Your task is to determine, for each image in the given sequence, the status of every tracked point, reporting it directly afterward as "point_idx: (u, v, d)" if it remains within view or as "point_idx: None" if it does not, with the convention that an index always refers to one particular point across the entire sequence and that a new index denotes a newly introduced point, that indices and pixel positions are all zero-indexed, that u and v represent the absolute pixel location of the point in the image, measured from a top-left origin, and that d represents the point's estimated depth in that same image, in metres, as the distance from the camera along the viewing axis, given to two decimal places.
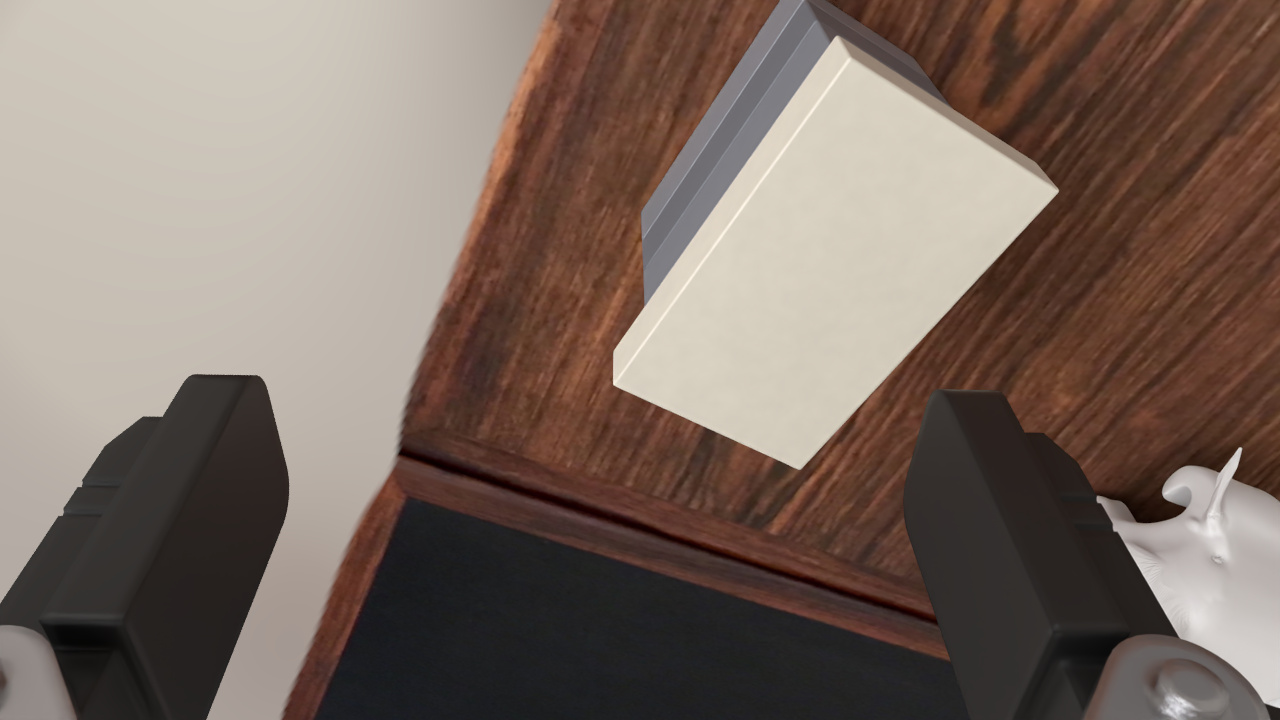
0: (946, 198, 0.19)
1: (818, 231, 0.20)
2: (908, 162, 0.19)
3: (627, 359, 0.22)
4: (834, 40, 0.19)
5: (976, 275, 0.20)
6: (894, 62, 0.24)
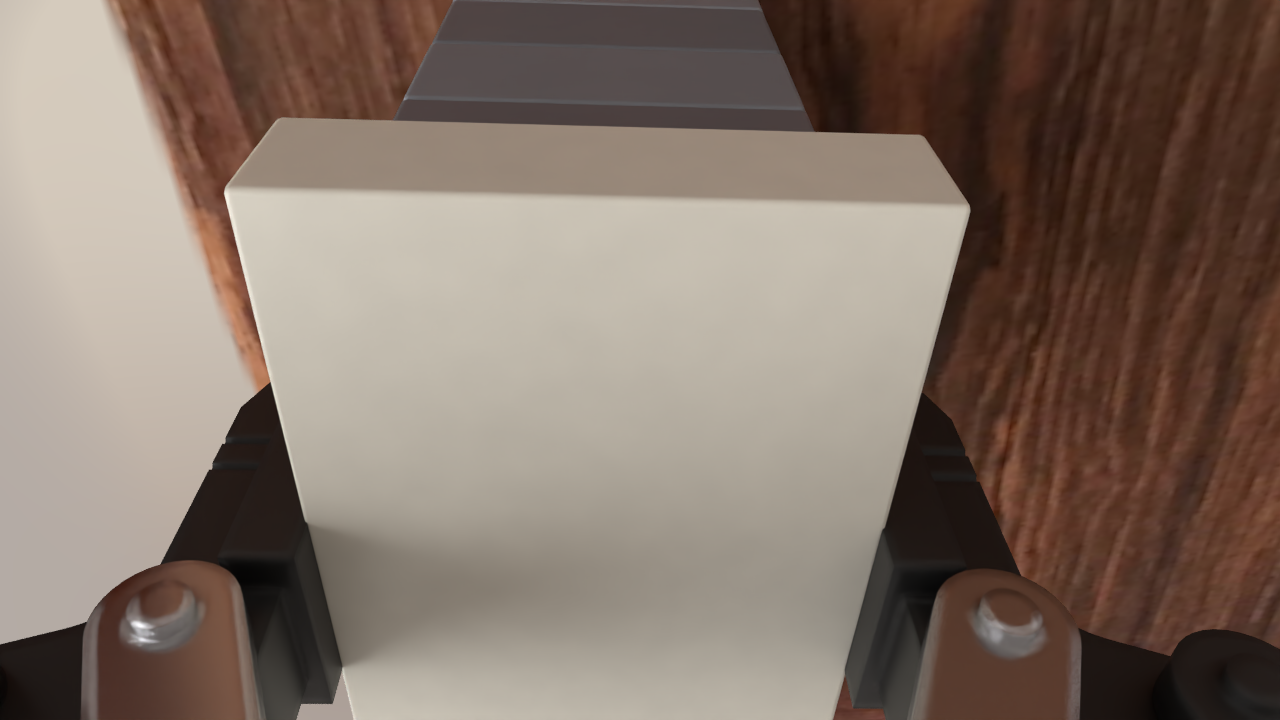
0: (700, 347, 0.08)
1: (488, 514, 0.09)
2: (551, 321, 0.07)
3: None
4: None
5: (895, 449, 0.08)
6: (649, 25, 0.12)
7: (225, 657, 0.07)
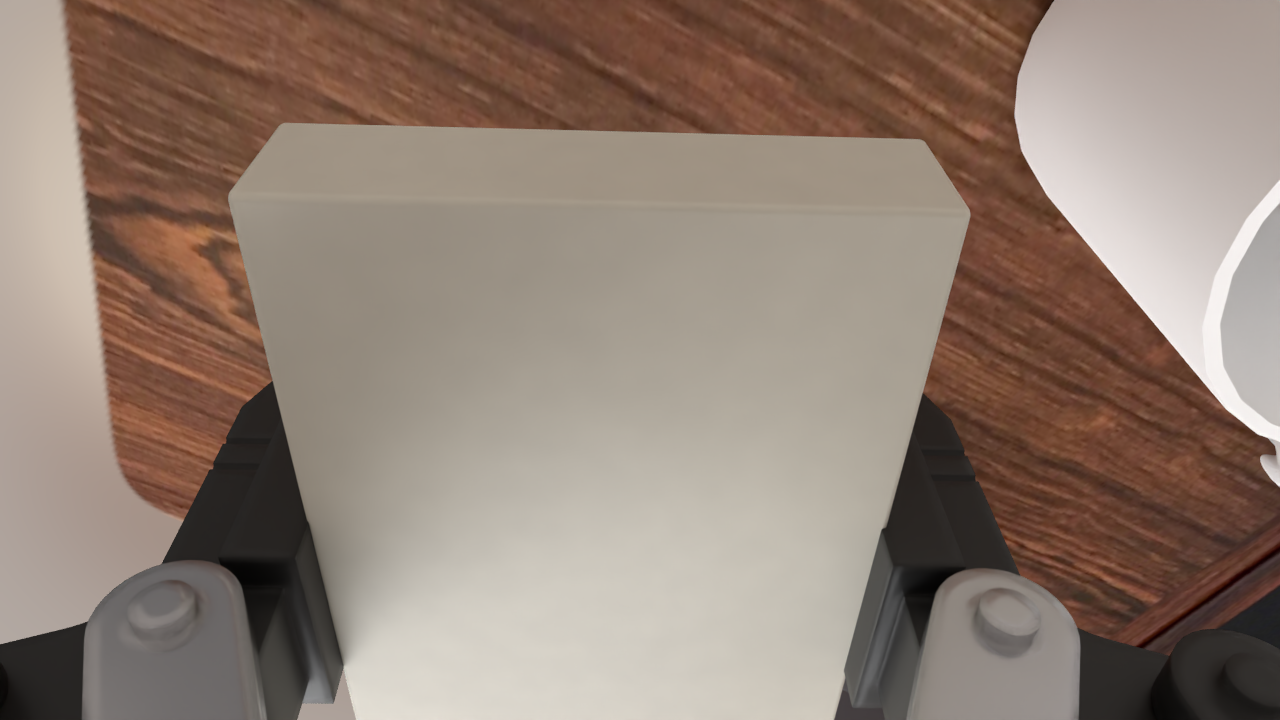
0: (699, 352, 0.08)
1: (490, 516, 0.09)
2: (553, 325, 0.08)
3: None
4: None
5: (896, 451, 0.08)
6: None
7: (226, 656, 0.07)
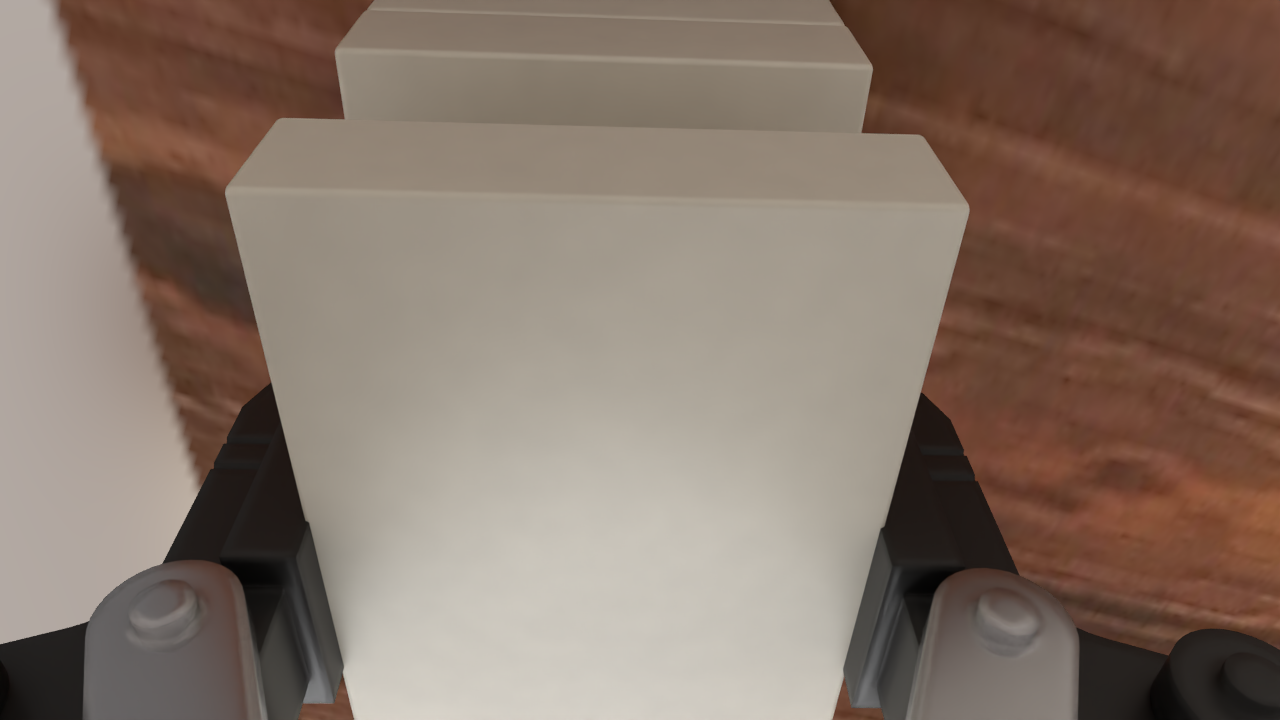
0: (698, 346, 0.08)
1: (488, 513, 0.09)
2: (551, 320, 0.07)
3: None
4: None
5: (894, 448, 0.08)
6: None
7: (227, 656, 0.07)
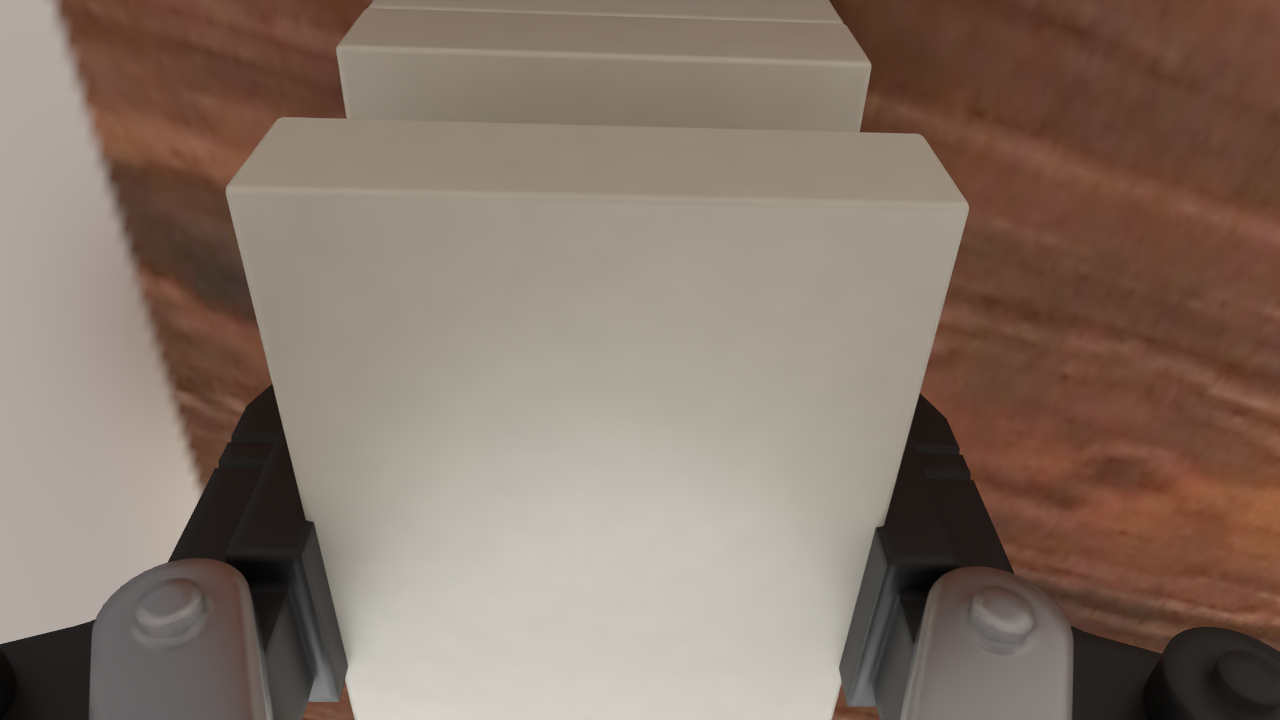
0: (699, 346, 0.08)
1: (489, 512, 0.09)
2: (551, 319, 0.08)
3: None
4: None
5: (894, 446, 0.08)
6: None
7: (233, 654, 0.07)
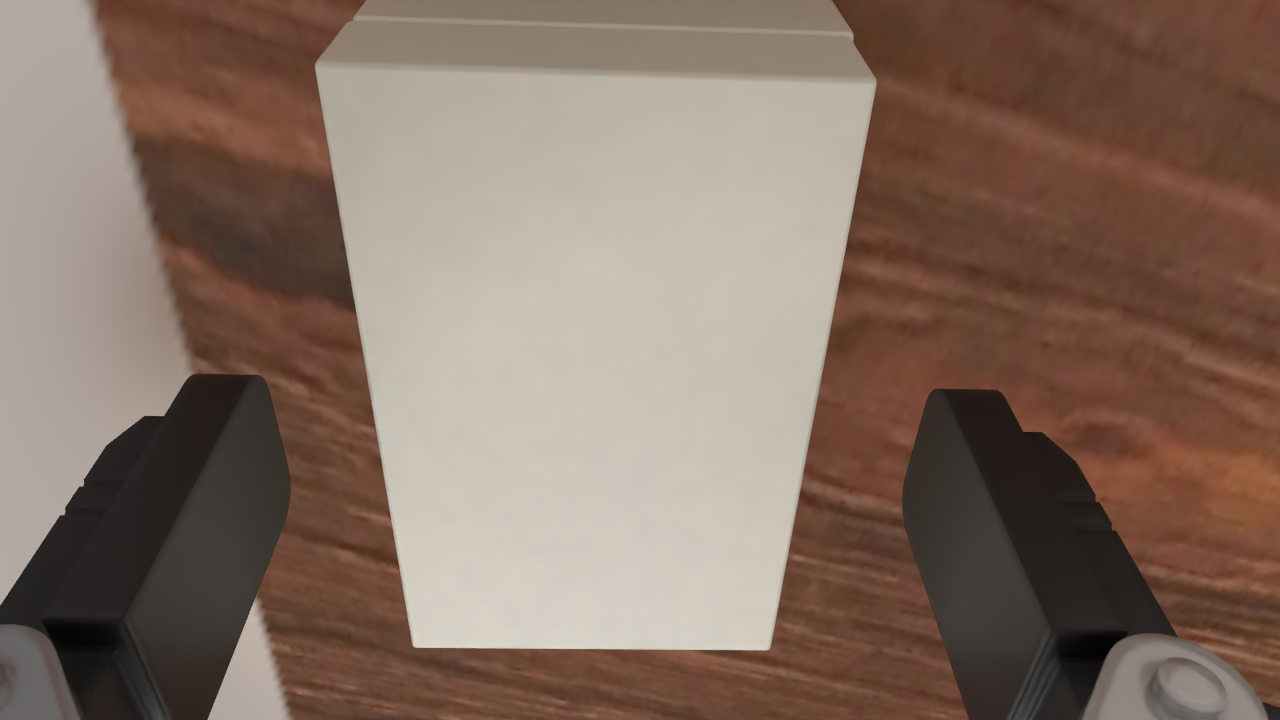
0: (673, 197, 0.10)
1: (508, 343, 0.11)
2: (559, 174, 0.10)
3: (409, 606, 0.14)
4: None
5: (829, 286, 0.11)
6: None
7: None
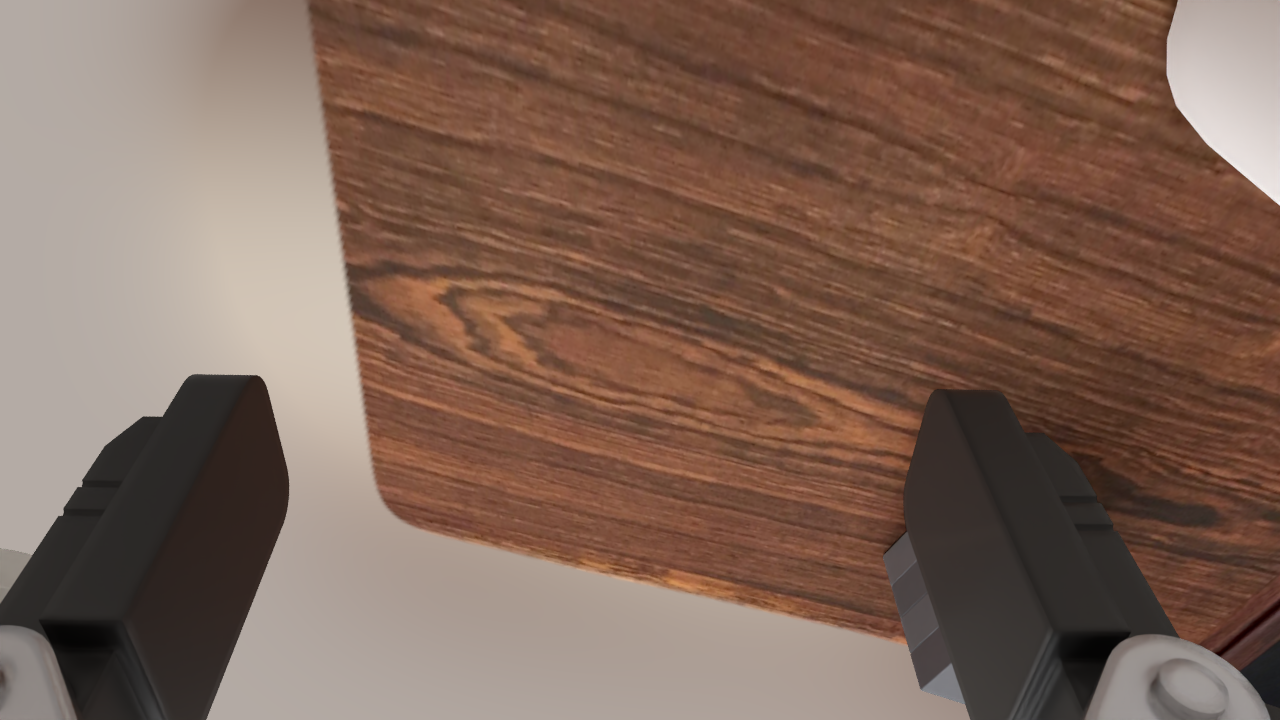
0: None
1: None
2: None
3: None
4: None
5: None
6: None
7: None
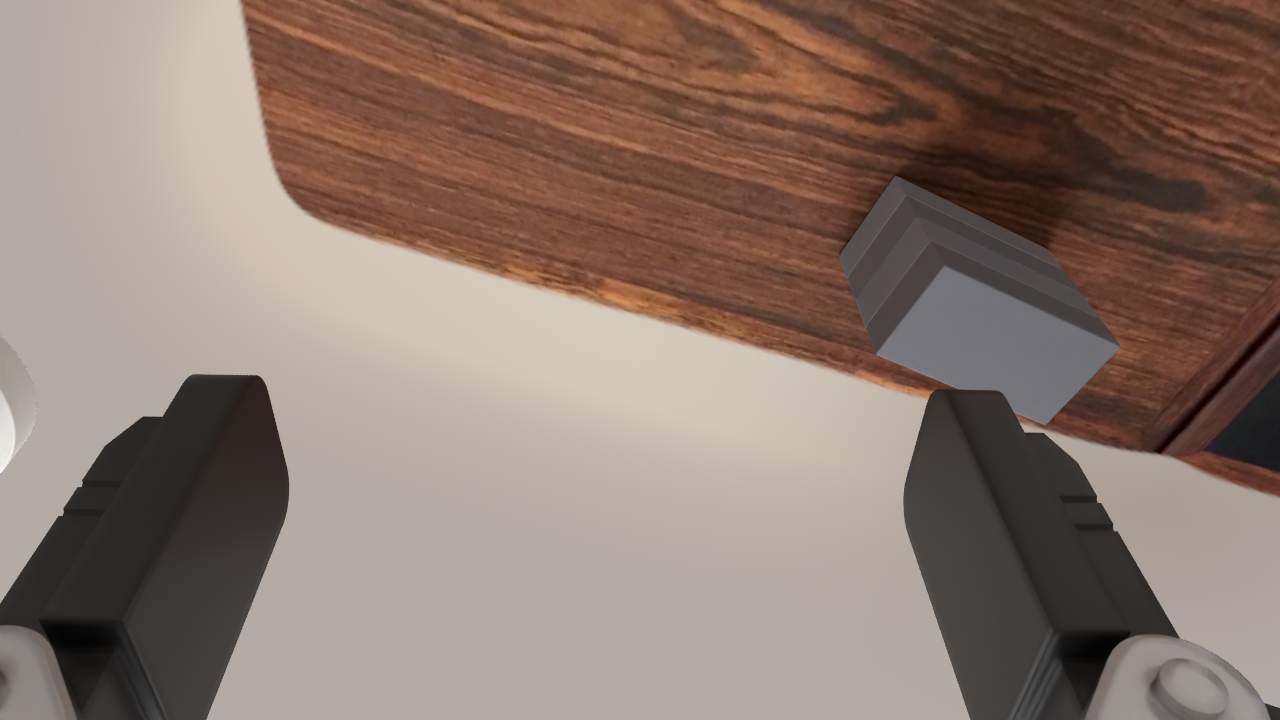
0: None
1: None
2: None
3: None
4: None
5: None
6: (888, 238, 0.37)
7: None
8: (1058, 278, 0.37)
